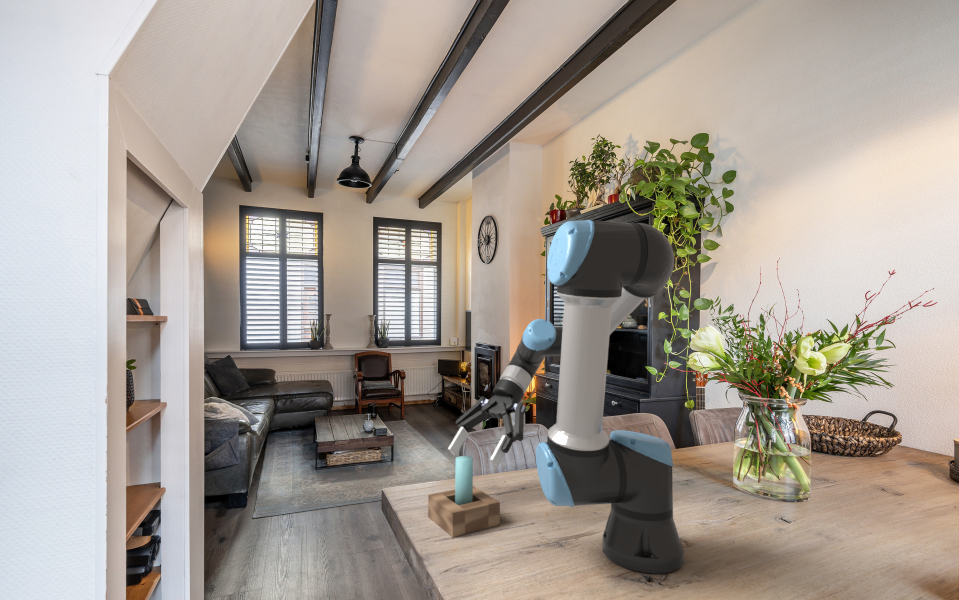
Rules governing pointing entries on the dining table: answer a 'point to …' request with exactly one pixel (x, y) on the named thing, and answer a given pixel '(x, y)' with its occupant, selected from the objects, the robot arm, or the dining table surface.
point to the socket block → (463, 512)
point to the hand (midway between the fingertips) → (471, 457)
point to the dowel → (463, 480)
